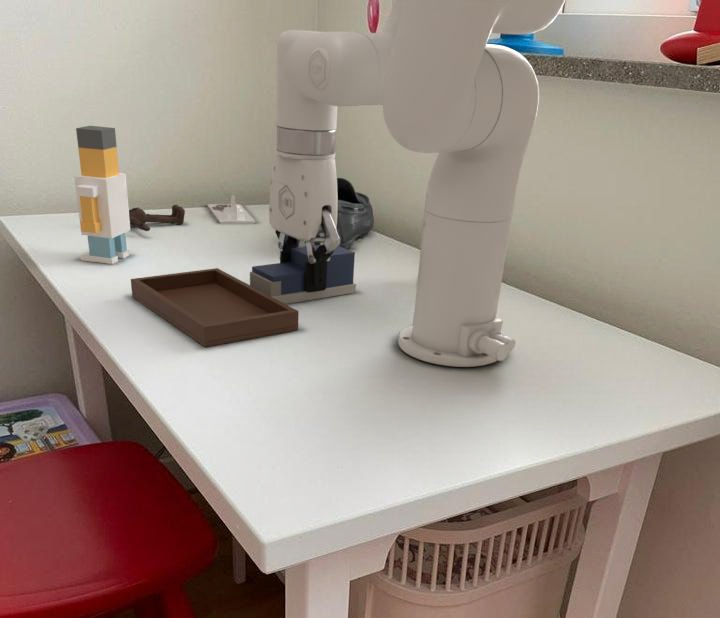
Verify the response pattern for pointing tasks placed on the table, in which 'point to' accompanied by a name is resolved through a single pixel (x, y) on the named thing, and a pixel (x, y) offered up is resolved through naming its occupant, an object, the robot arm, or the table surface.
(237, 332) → the tray
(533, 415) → the table surface
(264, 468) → the table surface
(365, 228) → the loafer
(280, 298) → the blue stair step block
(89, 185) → the character figure
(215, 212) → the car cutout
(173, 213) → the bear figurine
